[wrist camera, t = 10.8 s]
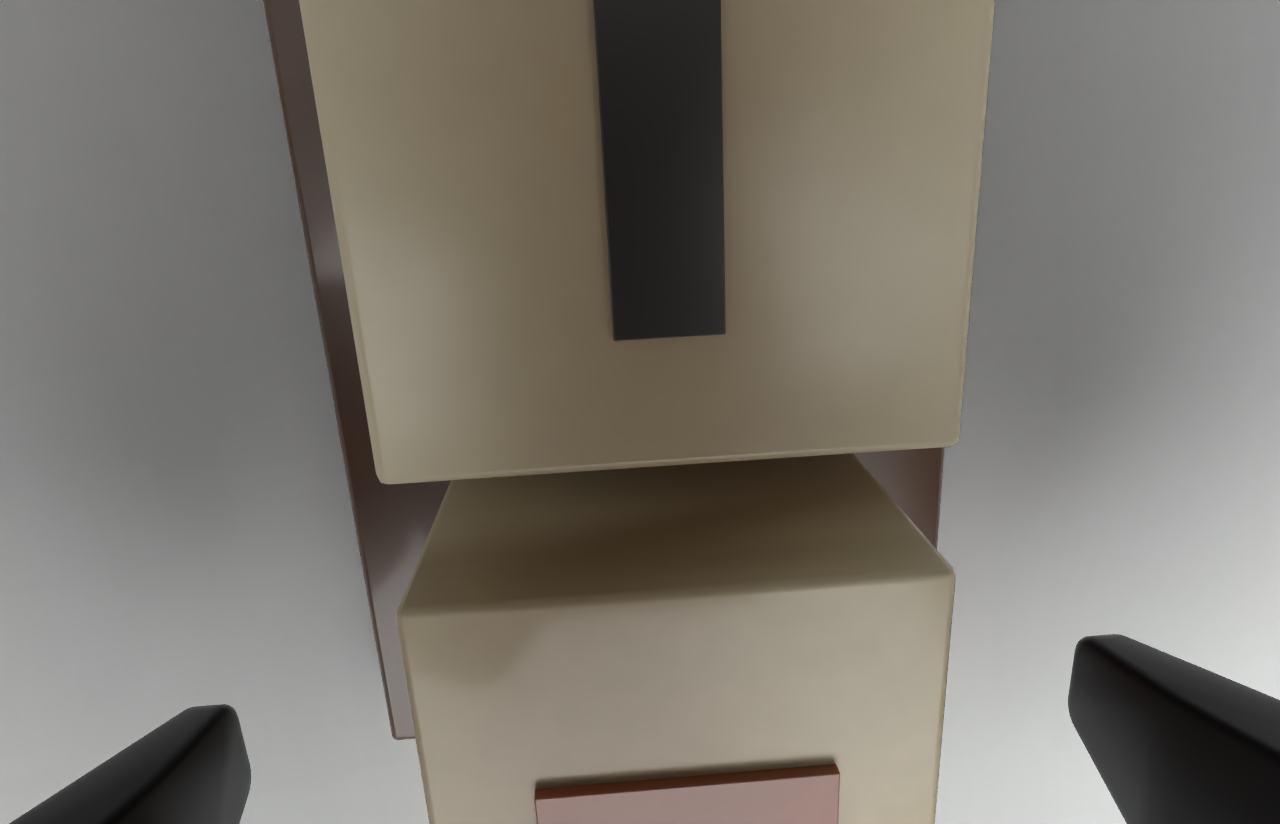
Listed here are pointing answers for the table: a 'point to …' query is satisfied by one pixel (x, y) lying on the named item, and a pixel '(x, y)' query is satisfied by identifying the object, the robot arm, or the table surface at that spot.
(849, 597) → the beige block with stripe
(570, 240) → the board
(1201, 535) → the table surface
